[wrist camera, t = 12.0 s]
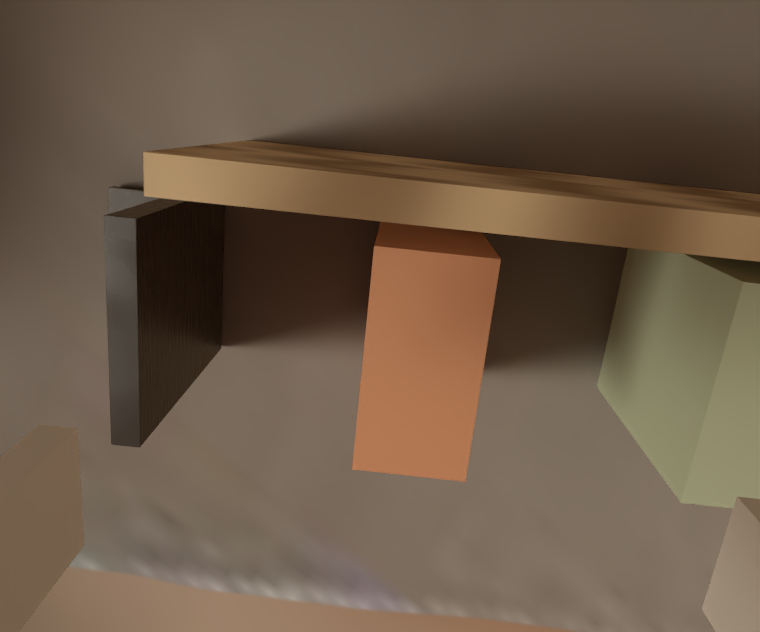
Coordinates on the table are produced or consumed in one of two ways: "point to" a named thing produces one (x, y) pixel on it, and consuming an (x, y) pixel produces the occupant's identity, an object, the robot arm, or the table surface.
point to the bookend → (159, 304)
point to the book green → (689, 371)
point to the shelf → (460, 197)
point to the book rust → (424, 350)
